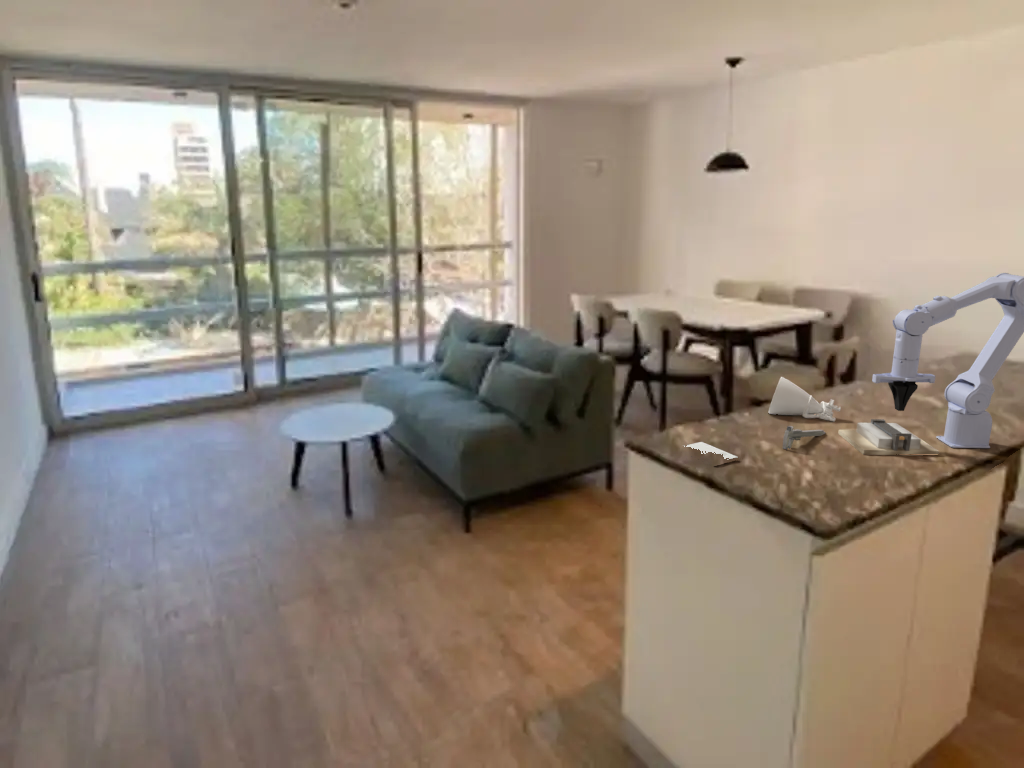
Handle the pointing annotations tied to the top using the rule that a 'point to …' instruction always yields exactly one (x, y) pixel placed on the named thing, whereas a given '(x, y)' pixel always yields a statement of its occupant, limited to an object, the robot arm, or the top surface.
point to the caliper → (798, 435)
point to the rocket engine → (799, 402)
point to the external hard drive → (710, 449)
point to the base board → (881, 451)
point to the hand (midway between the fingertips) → (899, 409)
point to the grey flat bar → (888, 429)
